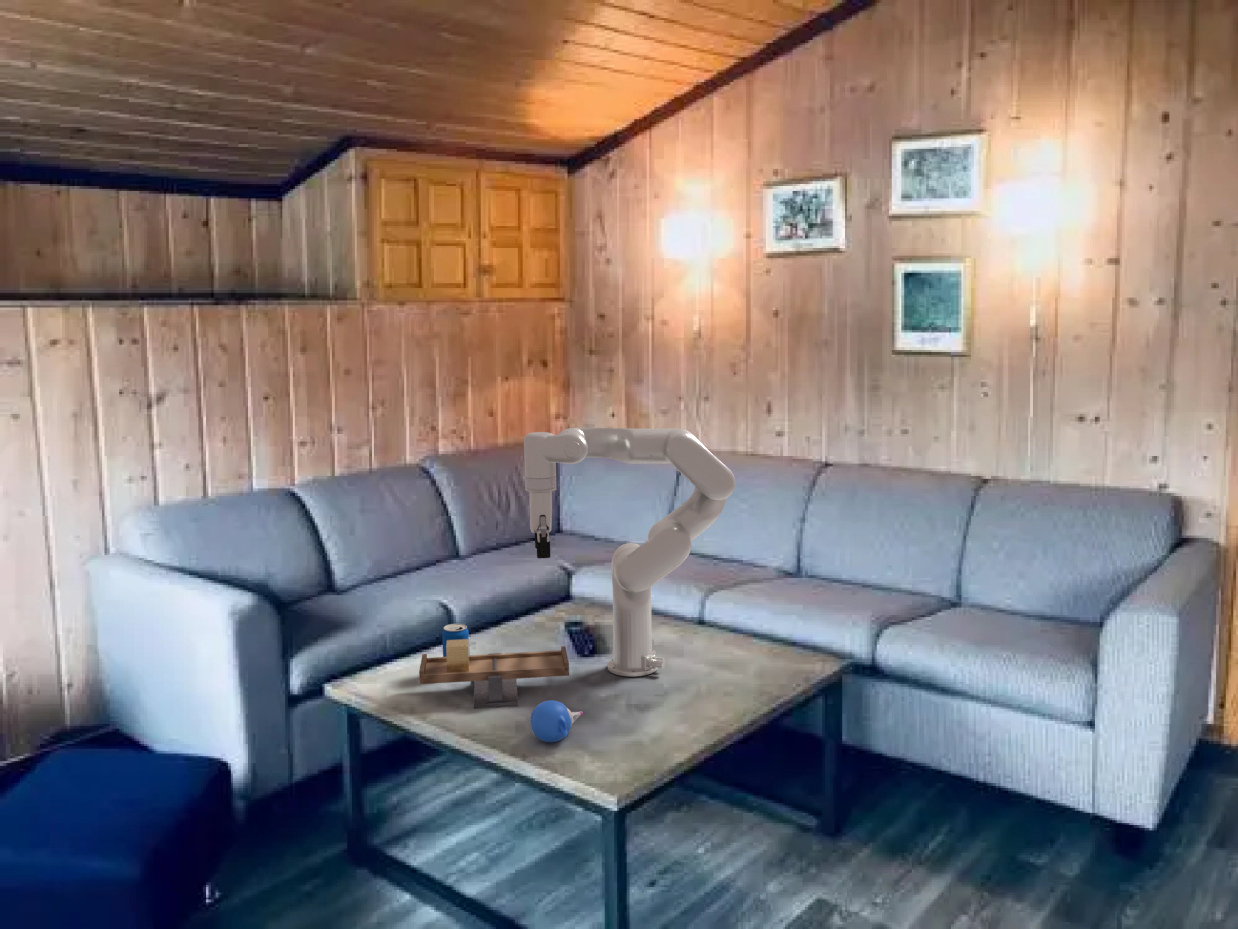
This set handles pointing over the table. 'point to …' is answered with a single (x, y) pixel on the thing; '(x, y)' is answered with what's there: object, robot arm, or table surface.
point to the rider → (457, 655)
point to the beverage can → (454, 634)
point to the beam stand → (495, 692)
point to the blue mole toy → (552, 721)
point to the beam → (497, 667)
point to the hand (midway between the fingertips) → (542, 553)
